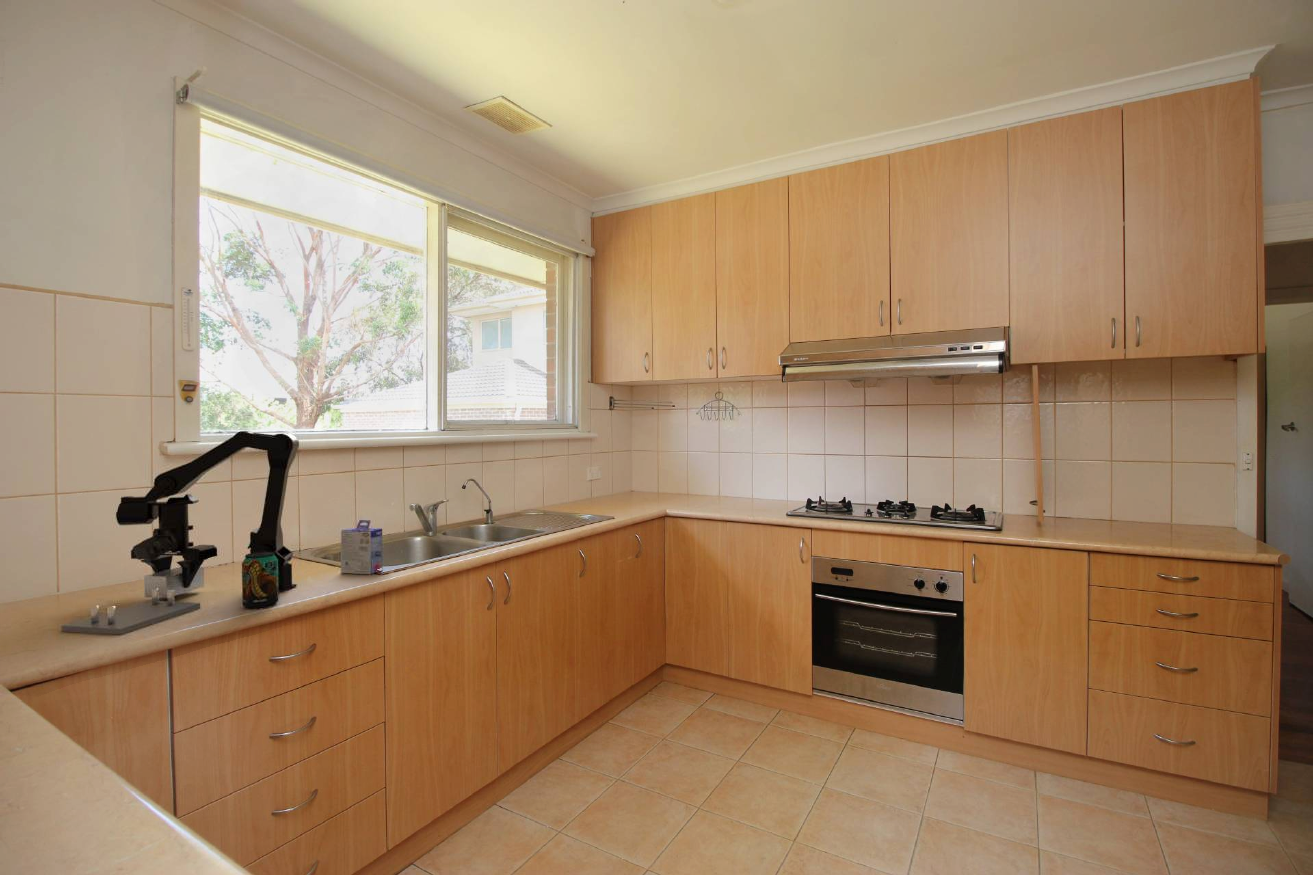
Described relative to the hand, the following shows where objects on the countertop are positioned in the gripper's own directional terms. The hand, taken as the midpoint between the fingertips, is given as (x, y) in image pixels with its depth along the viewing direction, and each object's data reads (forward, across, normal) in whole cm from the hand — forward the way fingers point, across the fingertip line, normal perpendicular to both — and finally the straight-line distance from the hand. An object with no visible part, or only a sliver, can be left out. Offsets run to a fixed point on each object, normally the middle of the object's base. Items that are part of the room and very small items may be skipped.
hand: (175, 587), depth 150 cm
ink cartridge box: (+3, +29, +30) cm, 42 cm away
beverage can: (+3, +26, -3) cm, 26 cm away
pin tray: (+2, +7, -16) cm, 18 cm away
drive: (+1, 0, 0) cm, 1 cm away
